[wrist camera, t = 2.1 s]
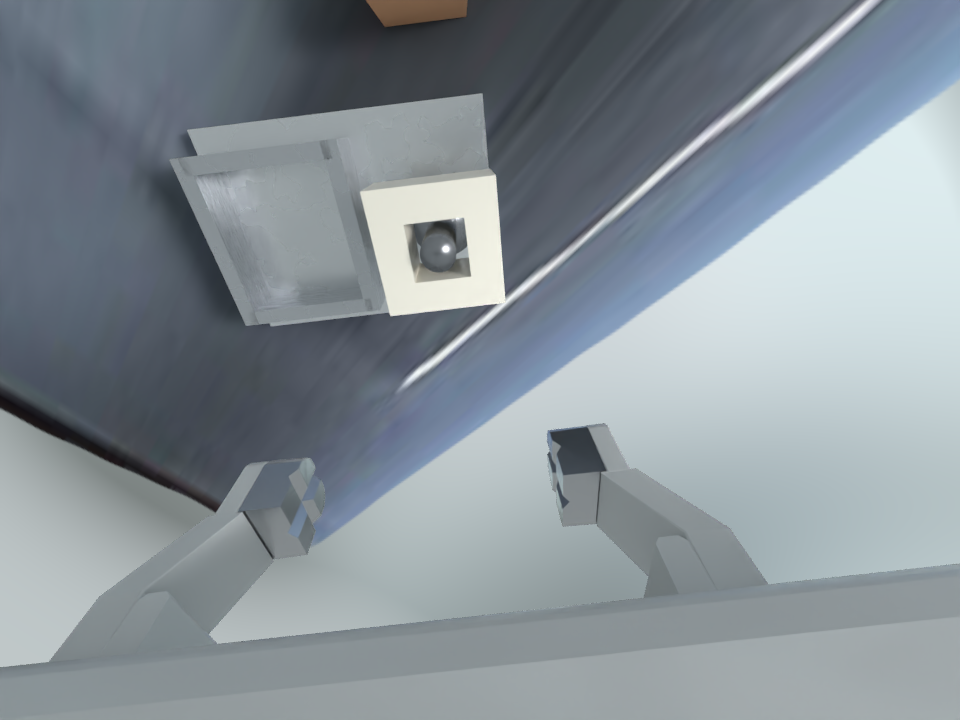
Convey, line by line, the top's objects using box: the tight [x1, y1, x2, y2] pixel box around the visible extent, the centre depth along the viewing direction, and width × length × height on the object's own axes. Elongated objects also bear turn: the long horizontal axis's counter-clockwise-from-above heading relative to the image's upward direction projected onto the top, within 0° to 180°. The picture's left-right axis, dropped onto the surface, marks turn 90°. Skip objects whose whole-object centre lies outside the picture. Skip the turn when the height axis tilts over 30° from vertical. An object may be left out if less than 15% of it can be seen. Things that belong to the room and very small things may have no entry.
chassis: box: [169, 93, 489, 326], centre depth 24 cm, size 19×14×12 cm
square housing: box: [360, 169, 505, 316], centre depth 21 cm, size 6×6×4 cm
